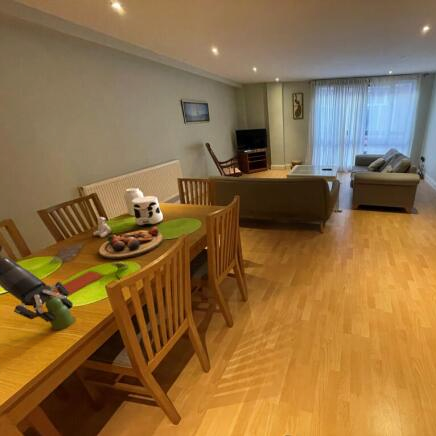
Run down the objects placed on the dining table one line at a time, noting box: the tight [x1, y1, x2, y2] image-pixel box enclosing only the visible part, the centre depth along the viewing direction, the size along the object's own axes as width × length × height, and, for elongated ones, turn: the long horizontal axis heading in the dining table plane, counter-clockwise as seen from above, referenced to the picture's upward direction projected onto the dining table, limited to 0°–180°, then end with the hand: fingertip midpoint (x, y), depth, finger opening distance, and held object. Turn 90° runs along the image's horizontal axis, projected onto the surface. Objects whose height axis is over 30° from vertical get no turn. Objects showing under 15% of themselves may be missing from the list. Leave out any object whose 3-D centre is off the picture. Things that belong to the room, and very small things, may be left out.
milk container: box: [132, 195, 164, 227], centre depth 170 cm, size 17×17×18 cm
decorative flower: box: [110, 261, 130, 280], centre depth 115 cm, size 8×6×15 cm
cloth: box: [52, 270, 105, 297], centre depth 108 cm, size 19×10×1 cm, turn 160°
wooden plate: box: [98, 226, 163, 260], centre depth 141 cm, size 32×32×8 cm
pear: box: [44, 296, 75, 331], centre depth 85 cm, size 6×6×13 cm
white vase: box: [123, 187, 144, 217], centre depth 187 cm, size 12×12×20 cm
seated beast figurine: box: [92, 216, 112, 239], centre depth 154 cm, size 10×9×12 cm
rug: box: [49, 243, 84, 265], centre depth 134 cm, size 10×20×1 cm, turn 26°
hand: (62, 313), depth 85 cm, fingers closed on pear, 5 cm apart
